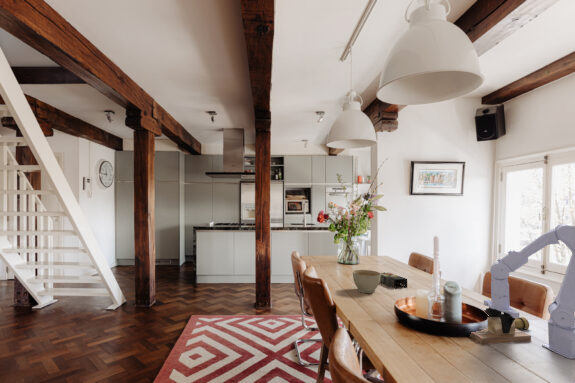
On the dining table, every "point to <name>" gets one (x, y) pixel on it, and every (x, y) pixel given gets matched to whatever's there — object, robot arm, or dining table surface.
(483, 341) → the walnut board
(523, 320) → the gavel
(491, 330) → the pale gold block
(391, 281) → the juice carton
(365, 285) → the planter bowl
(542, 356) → the dining table surface
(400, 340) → the dining table surface
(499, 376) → the dining table surface
